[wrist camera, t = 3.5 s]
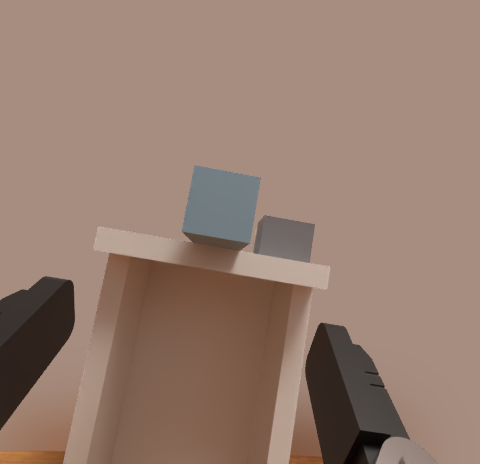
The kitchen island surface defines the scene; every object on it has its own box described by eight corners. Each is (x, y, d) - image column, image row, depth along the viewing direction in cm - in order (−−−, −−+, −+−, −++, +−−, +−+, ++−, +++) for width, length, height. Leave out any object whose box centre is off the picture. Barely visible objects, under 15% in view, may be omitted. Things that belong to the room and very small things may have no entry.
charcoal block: (258, 256, 30) (264, 215, 30) (252, 257, 35) (258, 222, 35) (309, 265, 30) (314, 224, 30) (296, 265, 35) (301, 230, 35)
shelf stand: (-3, 666, 22) (98, 226, 26) (89, 499, 38) (143, 241, 42) (273, 694, 23) (330, 266, 27) (250, 520, 39) (288, 266, 43)
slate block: (181, 231, 18) (194, 165, 18) (201, 250, 40) (207, 220, 40) (249, 243, 18) (260, 177, 19) (232, 256, 40) (237, 226, 40)
